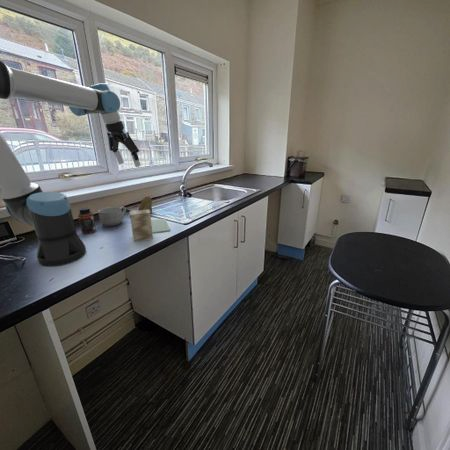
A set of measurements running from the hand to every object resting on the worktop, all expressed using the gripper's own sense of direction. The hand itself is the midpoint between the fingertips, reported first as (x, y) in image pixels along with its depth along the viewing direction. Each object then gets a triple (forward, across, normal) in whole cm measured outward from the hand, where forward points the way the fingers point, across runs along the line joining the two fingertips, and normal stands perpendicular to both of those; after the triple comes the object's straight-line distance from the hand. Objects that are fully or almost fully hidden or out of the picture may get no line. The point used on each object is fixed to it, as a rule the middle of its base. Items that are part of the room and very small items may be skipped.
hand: (129, 164), depth 124 cm
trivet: (+24, -22, +14) cm, 36 cm away
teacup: (+23, -2, +21) cm, 31 cm away
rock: (+28, -2, +4) cm, 28 cm away
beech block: (+21, -28, +25) cm, 43 cm away
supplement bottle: (+19, -2, +34) cm, 39 cm away
